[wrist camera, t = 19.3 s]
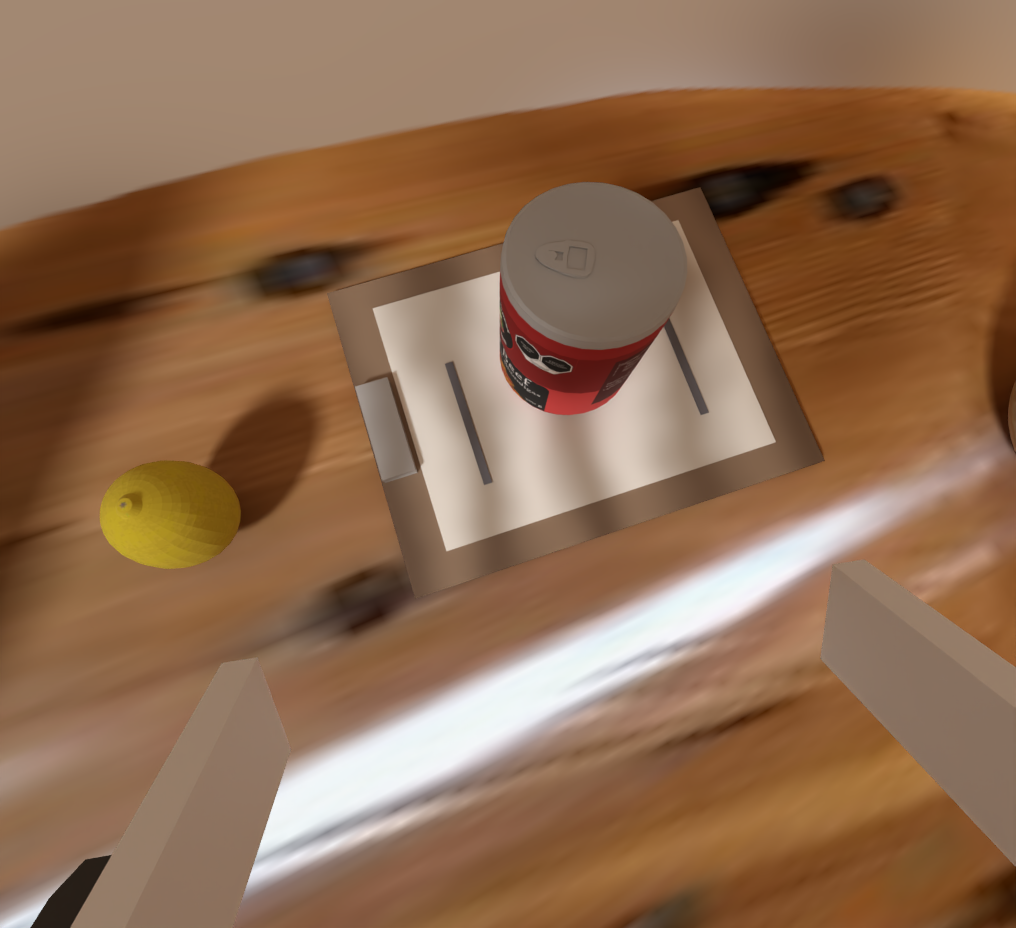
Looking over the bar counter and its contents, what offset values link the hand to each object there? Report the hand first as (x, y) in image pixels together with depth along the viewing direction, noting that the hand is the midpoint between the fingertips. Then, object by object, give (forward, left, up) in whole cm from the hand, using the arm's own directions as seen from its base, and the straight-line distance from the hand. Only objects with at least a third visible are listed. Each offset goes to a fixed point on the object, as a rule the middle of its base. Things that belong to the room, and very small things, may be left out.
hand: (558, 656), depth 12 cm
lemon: (-16, +10, -19) cm, 27 cm away
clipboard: (+7, +12, -19) cm, 24 cm away
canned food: (+7, +13, -18) cm, 24 cm away
